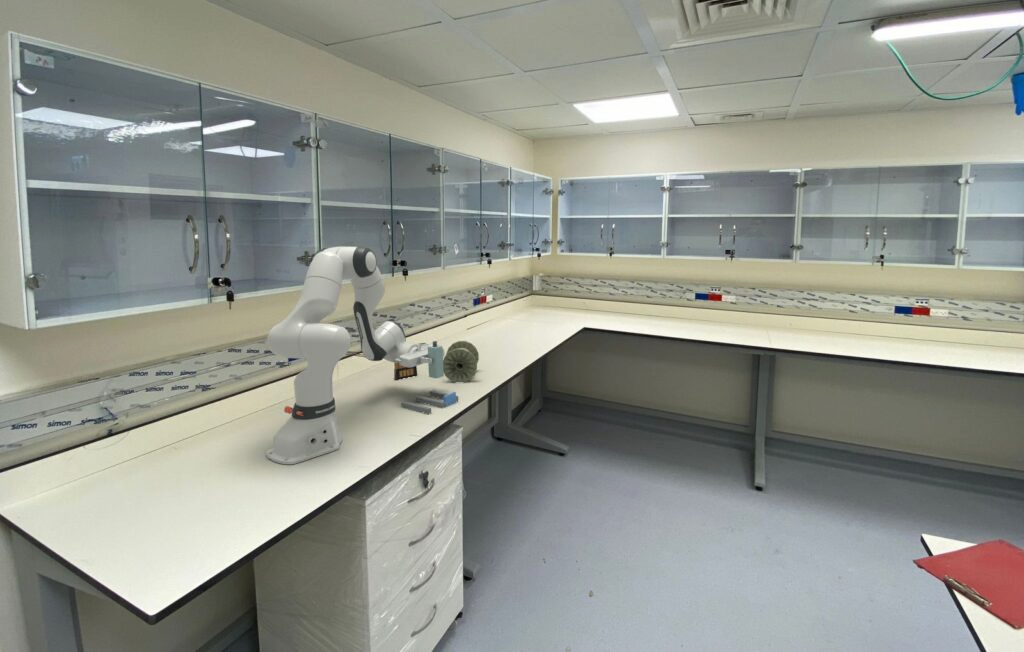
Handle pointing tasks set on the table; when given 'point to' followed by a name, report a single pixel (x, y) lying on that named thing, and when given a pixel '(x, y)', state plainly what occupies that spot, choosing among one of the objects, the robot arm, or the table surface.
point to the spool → (460, 361)
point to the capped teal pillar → (436, 360)
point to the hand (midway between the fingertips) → (437, 359)
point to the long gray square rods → (431, 401)
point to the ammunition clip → (404, 371)
